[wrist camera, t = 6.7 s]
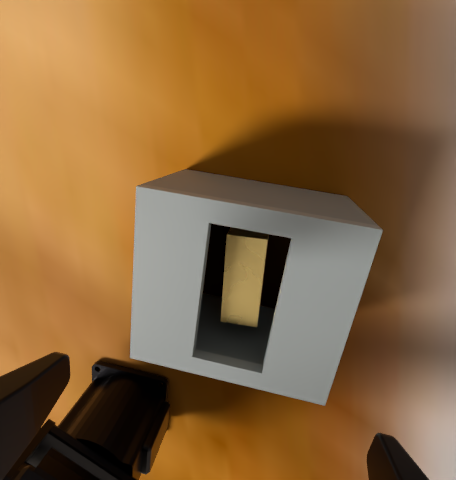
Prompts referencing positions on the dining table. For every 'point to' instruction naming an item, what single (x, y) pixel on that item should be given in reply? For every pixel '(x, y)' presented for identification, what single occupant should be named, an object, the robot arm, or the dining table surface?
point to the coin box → (270, 319)
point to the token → (243, 276)
